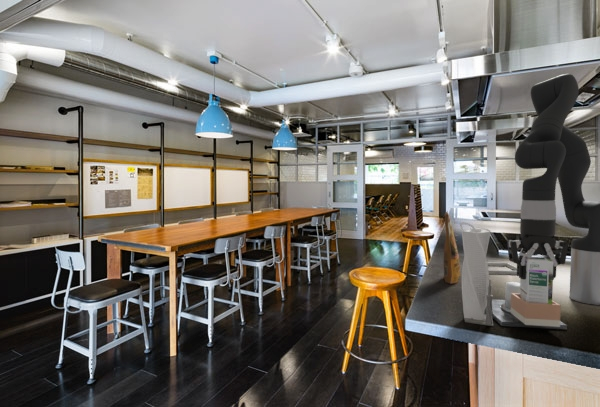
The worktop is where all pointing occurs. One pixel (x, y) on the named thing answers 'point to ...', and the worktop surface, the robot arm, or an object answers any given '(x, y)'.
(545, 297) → the syrup box
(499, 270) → the cup tray rim
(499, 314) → the base
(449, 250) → the pancake mix bag
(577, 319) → the worktop surface
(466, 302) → the light grey twisted vase
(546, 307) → the pink planter box
